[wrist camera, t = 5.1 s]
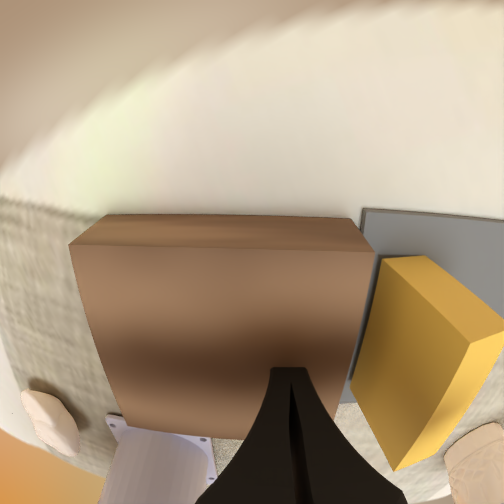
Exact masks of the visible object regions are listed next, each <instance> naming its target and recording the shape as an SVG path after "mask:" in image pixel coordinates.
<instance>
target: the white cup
mask: <svg viewBox="0 0 504 504" xmlns="http://www.w3.org/2000/svg"><path fill="white" fill-rule="evenodd" d="M444 461H445V464H446V468H447V471H448V475H449V483H450V487H451V493H452V497H453V501H454V504H501V503H503V502H504V431H503V429H502V427H501V425H500V424H498V423H494V422H493V423H489V424H486V425H483V426H481V427H479V428H477V429H475V430H473V431H471V432H469V433H468V434H466V435H465V436H463V437H462V438H461V439H459V440H458V441H456V442H455V443H454V444H453V445H452V446H451V447H450V448H449V449H448V450H447V452H446V454H445V455H444Z"/></svg>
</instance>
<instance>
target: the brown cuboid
mask: <svg viewBox="0 0 504 504" xmlns="http://www.w3.org/2000/svg"><path fill="white" fill-rule="evenodd" d="M69 250H70V255H71V259H72V264H73V268H74V272H75V276H76V281H77V284H78V288H79V292H80V296H81V300H82V303H83V307H84V310H85V314H86V317H87V320H88V324H89V327H90V330H91V333H92V336H93V339H94V342H95V345H96V348H97V351H98V354H99V357H100V360H101V363H102V365H103V368H104V371H105V373H106V376H107V379H108V381H109V384H110V386H111V389H112V391H113V394H114V396H115V399H116V401H117V403H118V406H119V408H120V410H121V413H122V415H123V417H124V420H125V422H126V424H127V426H130V427H135V428H141V429H147V430H153V431H159V432H166V433H173V434H181V435H189V436H198V437H209V438H221V439H237V440H245V438H246V436H247V435H248V433H249V431H250V429H251V427H252V425H253V423H254V421H255V419H256V417H257V414H258V412H259V410H260V408H261V405H262V402H263V399H264V397H265V394H266V390H267V387H268V383H269V378H270V369H271V368H272V367H305V368H306V369H307V371H308V374H309V376H310V379H311V381H312V383H313V386H314V388H315V390H316V392H317V394H318V396H319V398H320V400H321V401H322V403H323V405H324V407H325V408H326V410H327V412H328V413H329V415H330V417H331V418H332V420H334V417H335V414H336V411H337V408H338V405H339V401H340V398H341V395H342V392H343V388H344V385H345V381H346V378H347V374H348V371H349V367H350V364H351V360H352V356H353V352H354V349H355V345H356V341H357V337H358V333H359V329H360V324H361V320H362V316H363V311H364V307H365V302H366V298H367V293H368V288H369V283H370V278H371V273H372V268H373V262H374V257H375V251H374V250H373V249H372V247H371V246H370V244H369V243H368V242H367V240H366V239H365V237H364V236H363V235H362V233H361V232H360V230H359V229H358V228H357V226H356V225H355V224H354V222H353V221H352V220H351V219H343V218H320V217H293V216H257V215H193V214H138V215H106V216H104V217H103V218H102V219H100V220H99V221H98V222H96V223H95V224H94V225H93V226H91V227H90V228H89V229H87V230H86V231H85V232H84V233H82V234H81V235H80V236H79V237H77V238H76V239H75V240H74V241H72V242H71V243H70V244H69Z"/></svg>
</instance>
